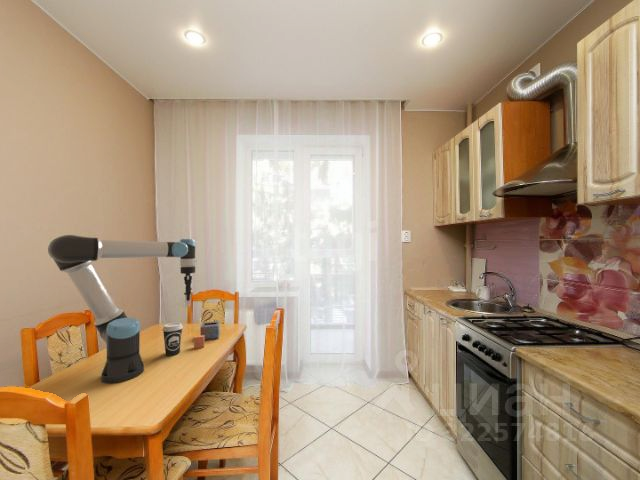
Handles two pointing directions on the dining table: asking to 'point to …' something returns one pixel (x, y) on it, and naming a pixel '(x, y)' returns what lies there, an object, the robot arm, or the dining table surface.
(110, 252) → the robot arm
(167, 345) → the coffee cup
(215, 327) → the coin box
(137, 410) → the dining table surface
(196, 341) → the salmon pink eraser
